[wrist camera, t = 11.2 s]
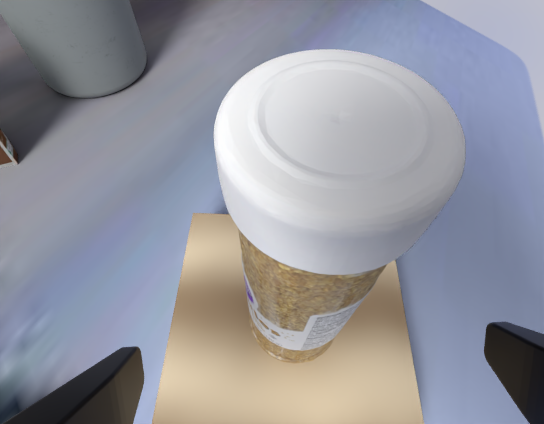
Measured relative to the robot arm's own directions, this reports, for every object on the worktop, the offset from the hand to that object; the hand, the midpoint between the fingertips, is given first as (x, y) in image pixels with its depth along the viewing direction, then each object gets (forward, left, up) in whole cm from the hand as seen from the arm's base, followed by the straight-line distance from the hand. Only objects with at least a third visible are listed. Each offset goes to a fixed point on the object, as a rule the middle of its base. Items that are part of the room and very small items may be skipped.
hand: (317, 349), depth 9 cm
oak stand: (+3, 0, -11) cm, 12 cm away
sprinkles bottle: (+3, 0, -8) cm, 9 cm away
